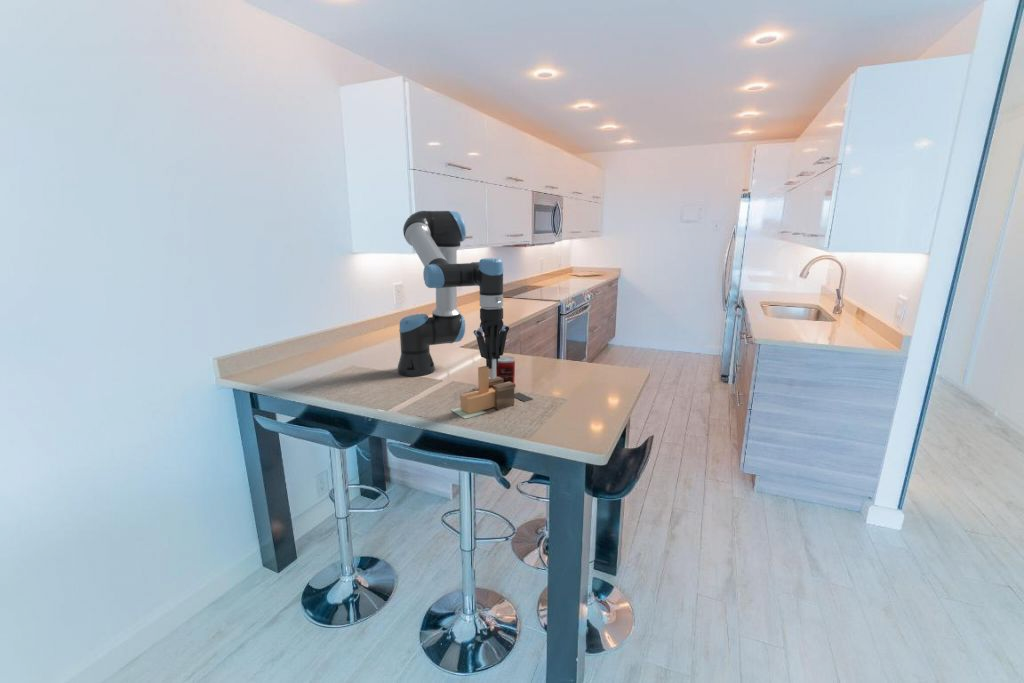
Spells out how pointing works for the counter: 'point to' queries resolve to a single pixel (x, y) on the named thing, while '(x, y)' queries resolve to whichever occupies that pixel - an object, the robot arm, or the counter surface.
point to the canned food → (506, 369)
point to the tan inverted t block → (479, 394)
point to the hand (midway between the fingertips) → (492, 377)
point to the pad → (466, 415)
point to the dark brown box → (502, 392)
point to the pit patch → (522, 397)
